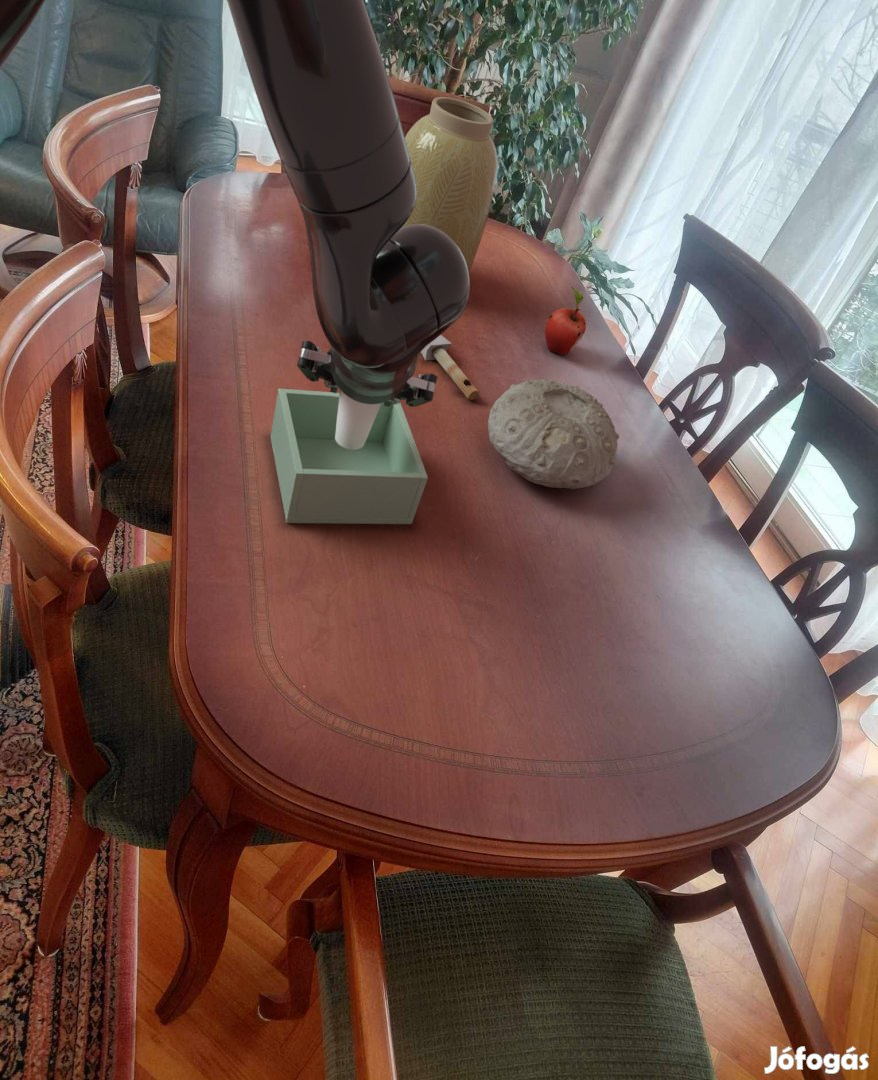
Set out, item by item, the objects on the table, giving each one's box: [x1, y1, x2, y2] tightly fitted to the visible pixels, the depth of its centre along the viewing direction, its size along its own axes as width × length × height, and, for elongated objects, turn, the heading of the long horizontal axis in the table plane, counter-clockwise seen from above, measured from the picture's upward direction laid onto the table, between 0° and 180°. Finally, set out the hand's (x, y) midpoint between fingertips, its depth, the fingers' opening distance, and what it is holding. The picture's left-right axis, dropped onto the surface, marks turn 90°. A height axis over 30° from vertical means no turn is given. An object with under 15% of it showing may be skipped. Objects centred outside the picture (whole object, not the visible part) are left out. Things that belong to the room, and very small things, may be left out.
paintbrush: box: [420, 334, 480, 401], centre depth 117 cm, size 4×3×20 cm
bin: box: [270, 387, 429, 525], centre depth 90 cm, size 15×15×7 cm
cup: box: [335, 389, 381, 450], centre depth 84 cm, size 5×5×12 cm
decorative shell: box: [487, 378, 620, 490], centre depth 103 cm, size 18×18×10 cm
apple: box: [544, 286, 587, 356], centre depth 127 cm, size 8×7×10 cm
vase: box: [401, 96, 499, 272], centre depth 127 cm, size 17×17×27 cm
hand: (361, 390), depth 86 cm, fingers closed on cup, 5 cm apart
